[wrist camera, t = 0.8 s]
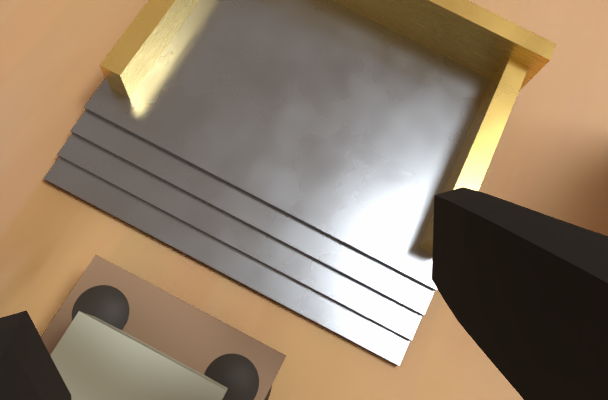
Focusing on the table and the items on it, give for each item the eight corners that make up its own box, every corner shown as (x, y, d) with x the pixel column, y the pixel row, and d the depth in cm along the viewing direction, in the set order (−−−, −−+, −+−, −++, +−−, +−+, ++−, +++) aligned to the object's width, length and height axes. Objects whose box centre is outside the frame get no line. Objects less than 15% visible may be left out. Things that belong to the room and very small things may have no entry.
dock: (397, 366, 23) (429, 365, 19) (45, 180, 24) (6, 143, 20) (512, 89, 28) (556, 43, 24) (219, -56, 29) (216, -123, 25)
